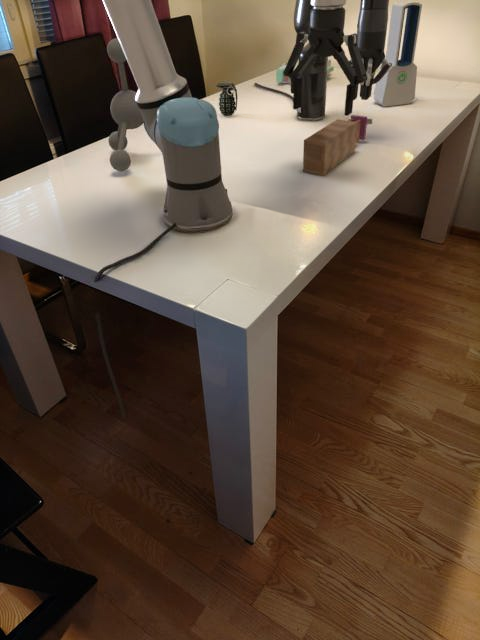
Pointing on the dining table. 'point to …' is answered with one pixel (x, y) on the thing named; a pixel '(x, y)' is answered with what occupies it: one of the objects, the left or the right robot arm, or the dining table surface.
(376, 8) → the right robot arm
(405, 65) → the electronic device
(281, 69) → the decorative block
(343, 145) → the brown wooden brick
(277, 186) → the dining table surface
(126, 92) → the molecular model
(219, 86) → the grenade
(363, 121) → the purple elongated piece
